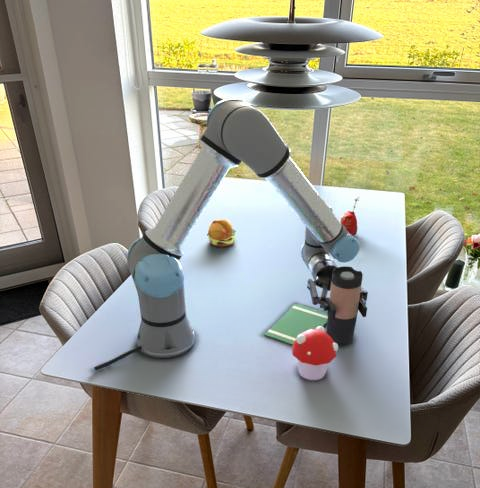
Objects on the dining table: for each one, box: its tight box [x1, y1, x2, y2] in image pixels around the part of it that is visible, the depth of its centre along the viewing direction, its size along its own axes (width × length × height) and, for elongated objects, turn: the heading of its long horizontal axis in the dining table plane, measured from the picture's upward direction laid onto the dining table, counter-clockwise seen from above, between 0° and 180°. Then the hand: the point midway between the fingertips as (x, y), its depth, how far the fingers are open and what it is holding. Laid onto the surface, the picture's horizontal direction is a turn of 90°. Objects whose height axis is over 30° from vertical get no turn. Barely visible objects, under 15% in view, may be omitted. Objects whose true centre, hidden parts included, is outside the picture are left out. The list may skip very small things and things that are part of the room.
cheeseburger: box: [206, 218, 237, 247], centre depth 187 cm, size 10×11×10 cm
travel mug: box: [326, 265, 364, 347], centre depth 132 cm, size 8×8×20 cm
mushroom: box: [291, 326, 339, 381], centre depth 122 cm, size 11×11×12 cm
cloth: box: [264, 303, 328, 346], centre depth 143 cm, size 19×12×1 cm, turn 148°
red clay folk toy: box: [339, 196, 360, 237], centre depth 190 cm, size 8×7×15 cm
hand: (349, 313), depth 128 cm, fingers closed on travel mug, 7 cm apart
